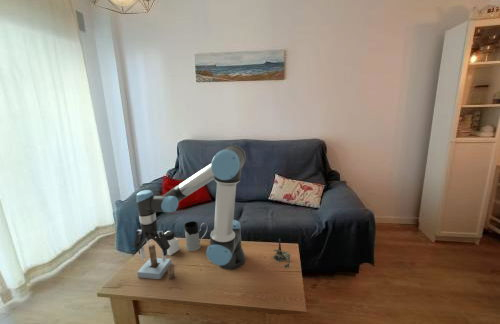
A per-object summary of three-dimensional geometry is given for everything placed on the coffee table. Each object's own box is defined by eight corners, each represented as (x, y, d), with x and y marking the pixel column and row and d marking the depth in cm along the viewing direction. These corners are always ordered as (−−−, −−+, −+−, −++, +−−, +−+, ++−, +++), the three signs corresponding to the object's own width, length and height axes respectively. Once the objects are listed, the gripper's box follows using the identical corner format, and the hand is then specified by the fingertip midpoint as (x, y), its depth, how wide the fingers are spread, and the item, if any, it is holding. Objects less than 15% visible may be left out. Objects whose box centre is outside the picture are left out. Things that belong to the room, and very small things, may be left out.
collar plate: (171, 263, 129) (170, 258, 128) (160, 279, 117) (159, 273, 117) (151, 262, 131) (150, 257, 130) (138, 277, 119) (137, 272, 119)
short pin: (175, 275, 120) (174, 264, 118) (172, 279, 117) (171, 268, 115) (170, 274, 120) (168, 264, 119) (167, 279, 117) (165, 268, 116)
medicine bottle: (179, 249, 141) (177, 231, 139) (170, 256, 136) (167, 237, 133) (171, 246, 145) (169, 228, 142) (162, 252, 139) (159, 233, 137)
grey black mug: (184, 245, 145) (181, 223, 142) (206, 238, 152) (204, 217, 148) (187, 252, 138) (185, 229, 134) (211, 245, 144) (209, 223, 141)
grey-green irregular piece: (289, 269, 122) (289, 246, 119) (269, 267, 124) (269, 244, 121) (290, 252, 136) (290, 231, 133) (273, 250, 138) (272, 229, 135)
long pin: (159, 268, 125) (156, 244, 122) (156, 272, 122) (152, 248, 119) (154, 268, 126) (150, 244, 123) (151, 271, 123) (147, 247, 120)
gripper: (174, 218, 119) (178, 256, 124) (131, 216, 123) (137, 254, 128) (166, 225, 112) (171, 266, 117) (121, 223, 116) (128, 262, 121)
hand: (153, 259), depth 123 cm, fingers open, 11 cm apart
